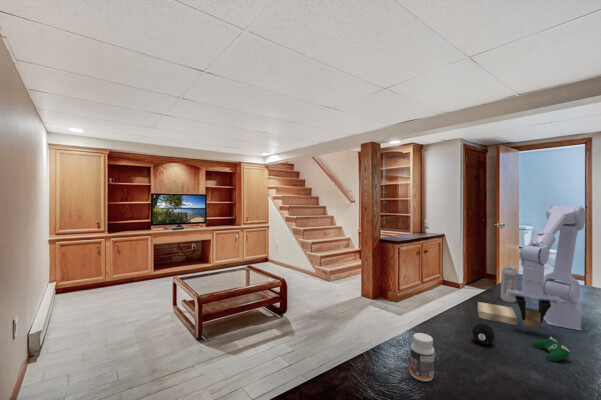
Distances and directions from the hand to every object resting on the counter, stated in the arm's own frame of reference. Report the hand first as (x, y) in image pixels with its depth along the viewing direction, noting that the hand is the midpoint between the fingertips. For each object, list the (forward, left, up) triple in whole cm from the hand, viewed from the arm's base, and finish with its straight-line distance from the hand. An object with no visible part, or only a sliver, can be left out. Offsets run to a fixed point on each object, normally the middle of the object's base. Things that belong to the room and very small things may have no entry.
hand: (531, 320), depth 102 cm
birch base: (+9, -12, -5) cm, 16 cm away
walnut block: (0, 0, -2) cm, 2 cm away
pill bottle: (+30, +46, -5) cm, 55 cm away
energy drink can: (+2, -36, -5) cm, 36 cm away
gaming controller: (-2, +15, -5) cm, 15 cm away
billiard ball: (+15, +17, -5) cm, 23 cm away
